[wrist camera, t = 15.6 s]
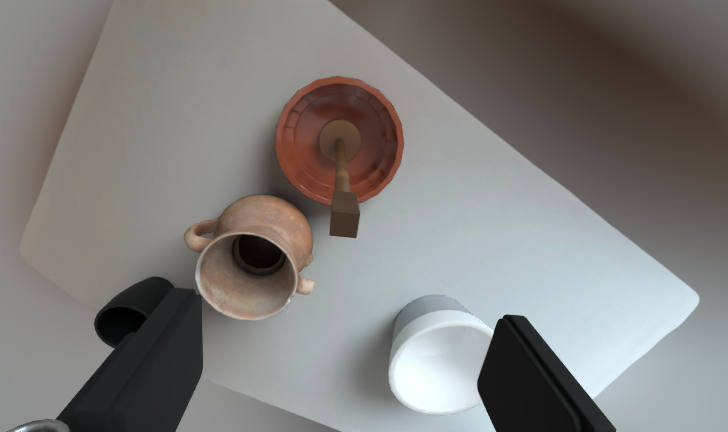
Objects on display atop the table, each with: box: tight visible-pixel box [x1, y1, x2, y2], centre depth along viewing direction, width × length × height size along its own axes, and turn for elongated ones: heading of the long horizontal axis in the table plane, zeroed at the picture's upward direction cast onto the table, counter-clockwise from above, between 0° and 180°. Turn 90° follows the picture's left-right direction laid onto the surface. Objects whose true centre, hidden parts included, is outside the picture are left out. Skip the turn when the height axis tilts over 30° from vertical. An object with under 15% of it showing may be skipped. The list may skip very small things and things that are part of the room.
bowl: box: [388, 295, 494, 415], centre depth 59 cm, size 19×19×11 cm
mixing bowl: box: [275, 76, 404, 205], centre depth 47 cm, size 17×17×6 cm
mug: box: [94, 277, 174, 348], centre depth 53 cm, size 8×12×10 cm
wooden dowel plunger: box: [319, 119, 361, 238], centre depth 35 cm, size 6×6×32 cm
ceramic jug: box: [184, 195, 314, 321], centre depth 48 cm, size 18×14×14 cm
